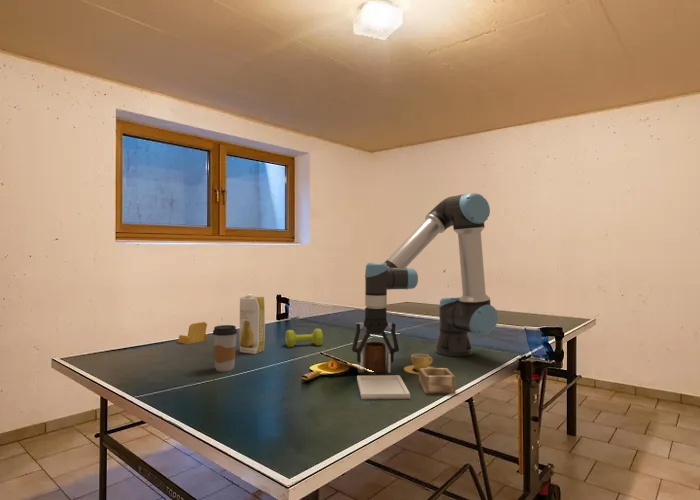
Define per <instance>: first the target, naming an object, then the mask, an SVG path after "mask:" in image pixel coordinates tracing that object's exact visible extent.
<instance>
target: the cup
mask: <svg viewBox="0 0 700 500" xmlns="http://www.w3.org/2000/svg"><path fill="white" fill-rule="evenodd" d="M432 363H433V357H432V356H430V355H429V354H426V353H413V354H411V365H407V366H405V367H404V368H403V371H405V372H406V373H409V374H413V375H419V368H435V367H434V366H430V365H431V364H432ZM413 369H414V370H415V371H414V370H413Z"/></svg>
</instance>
